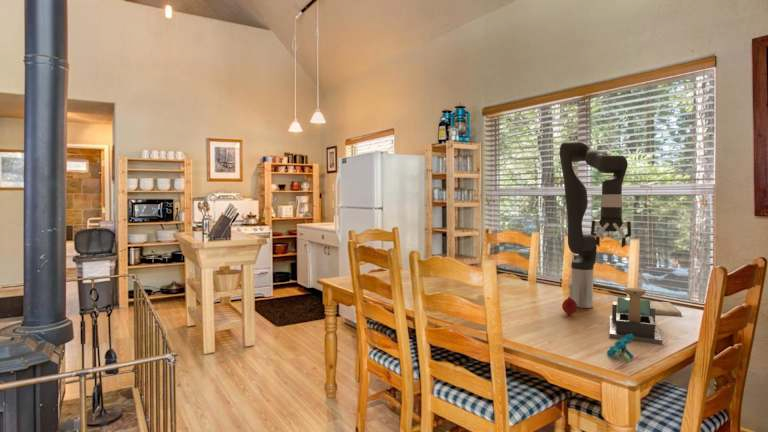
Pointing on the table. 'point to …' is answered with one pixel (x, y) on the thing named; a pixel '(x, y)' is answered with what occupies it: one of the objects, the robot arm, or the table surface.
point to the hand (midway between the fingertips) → (610, 246)
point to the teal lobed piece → (621, 347)
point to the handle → (634, 303)
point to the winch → (640, 330)
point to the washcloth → (665, 308)
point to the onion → (569, 306)
